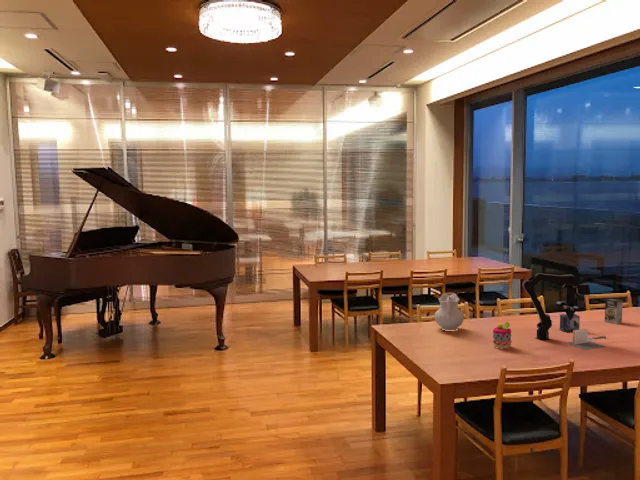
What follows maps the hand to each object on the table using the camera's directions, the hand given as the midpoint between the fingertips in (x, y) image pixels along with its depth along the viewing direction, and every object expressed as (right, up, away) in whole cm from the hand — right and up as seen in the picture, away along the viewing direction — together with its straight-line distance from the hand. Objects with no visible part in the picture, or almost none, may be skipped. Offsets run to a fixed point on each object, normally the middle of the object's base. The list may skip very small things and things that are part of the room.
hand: (570, 319), depth 328 cm
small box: (+10, -11, +23) cm, 27 cm away
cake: (-45, -15, -8) cm, 48 cm away
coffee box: (+49, -8, +40) cm, 64 cm away
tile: (+3, -13, -6) cm, 15 cm away
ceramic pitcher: (-66, -12, +34) cm, 75 cm away
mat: (+4, -14, -10) cm, 18 cm away
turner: (+16, -12, +2) cm, 20 cm away
